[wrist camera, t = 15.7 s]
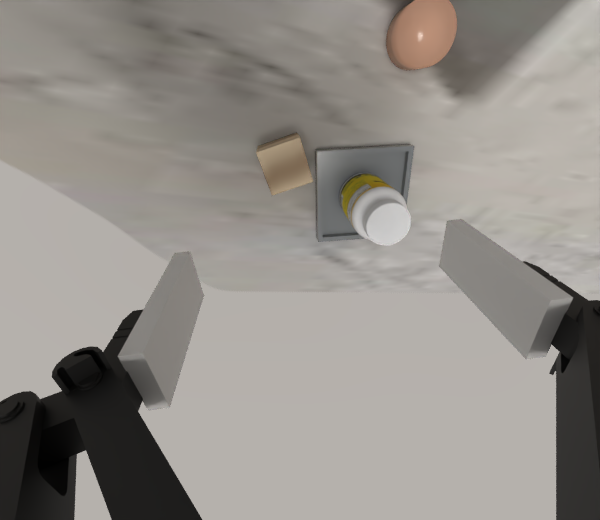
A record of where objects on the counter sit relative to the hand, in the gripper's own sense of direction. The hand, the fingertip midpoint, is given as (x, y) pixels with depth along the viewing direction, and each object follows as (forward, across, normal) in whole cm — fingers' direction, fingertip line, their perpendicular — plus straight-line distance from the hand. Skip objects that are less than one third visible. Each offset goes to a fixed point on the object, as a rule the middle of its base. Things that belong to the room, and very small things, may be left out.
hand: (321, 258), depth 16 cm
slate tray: (+26, +9, -6) cm, 28 cm away
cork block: (+26, -1, 0) cm, 26 cm away
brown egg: (+26, +15, +11) cm, 32 cm away
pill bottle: (+25, +9, -6) cm, 27 cm away
